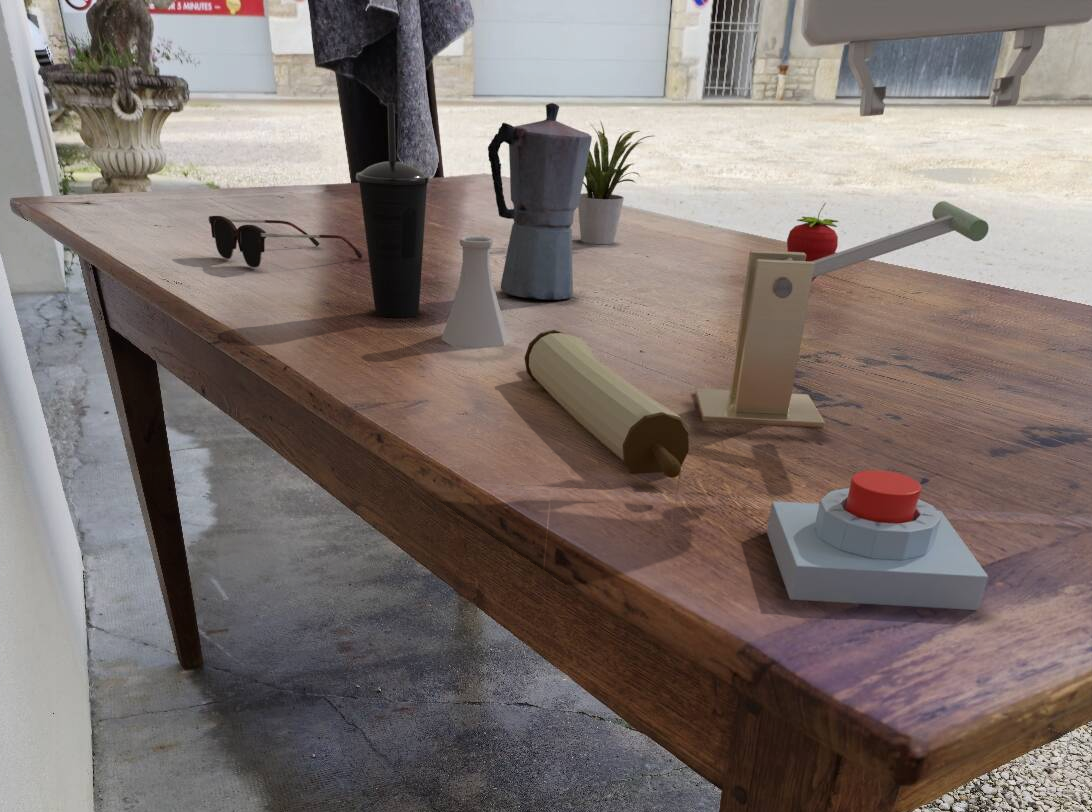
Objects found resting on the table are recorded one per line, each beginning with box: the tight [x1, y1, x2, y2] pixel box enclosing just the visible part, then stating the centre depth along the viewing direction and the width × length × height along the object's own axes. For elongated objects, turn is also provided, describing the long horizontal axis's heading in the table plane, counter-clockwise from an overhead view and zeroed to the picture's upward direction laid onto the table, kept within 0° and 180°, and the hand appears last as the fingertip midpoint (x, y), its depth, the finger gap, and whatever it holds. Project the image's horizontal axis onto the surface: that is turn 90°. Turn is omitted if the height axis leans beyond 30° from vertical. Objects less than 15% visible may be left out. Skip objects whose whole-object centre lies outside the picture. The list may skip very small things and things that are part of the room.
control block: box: [766, 487, 989, 611], centre depth 64 cm, size 11×10×4 cm
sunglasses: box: [207, 215, 363, 269], centre depth 140 cm, size 14×16×5 cm
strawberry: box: [786, 202, 839, 282], centre depth 135 cm, size 6×8×10 cm
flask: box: [441, 235, 510, 349], centre depth 103 cm, size 7×7×10 cm
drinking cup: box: [355, 102, 431, 319], centre depth 111 cm, size 8×8×20 cm
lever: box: [784, 200, 990, 278], centre depth 82 cm, size 16×10×2 cm, turn 87°
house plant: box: [577, 120, 654, 245], centre depth 157 cm, size 14×14×16 cm
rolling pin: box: [523, 329, 691, 479], centre depth 84 cm, size 32×6×5 cm, turn 16°
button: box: [845, 470, 922, 524], centre depth 62 cm, size 4×4×2 cm
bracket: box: [694, 249, 826, 429], centre depth 86 cm, size 10×8×13 cm
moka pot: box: [487, 102, 593, 301], centre depth 121 cm, size 10×15×20 cm, turn 136°
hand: (937, 111), depth 77 cm, fingers open, 8 cm apart
